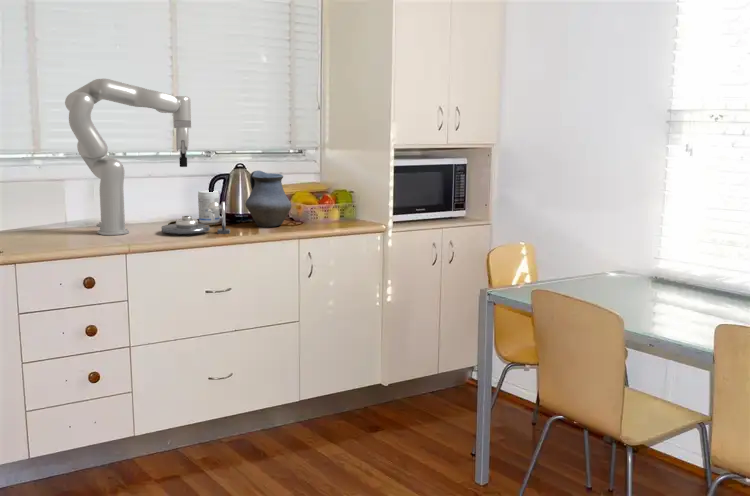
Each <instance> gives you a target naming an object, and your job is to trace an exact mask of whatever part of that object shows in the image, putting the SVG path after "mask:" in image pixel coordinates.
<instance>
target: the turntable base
mask: <svg viewBox="0 0 750 496" xmlns="http://www.w3.org/2000/svg"><path fill="white" fill-rule="evenodd" d="M197 234H198V233H193V234H176V235H177V236H188V235H189V236H191V235H197Z"/></svg>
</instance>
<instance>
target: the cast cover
mask: <svg viewBox="0 0 750 496" xmlns="http://www.w3.org/2000/svg"><path fill="white" fill-rule="evenodd" d="M175 224H176V228H182V229H189V228H197V227H198V224H199V219H197V218H193V217H192V215H182V217H181V218H178V219H176V220H175Z"/></svg>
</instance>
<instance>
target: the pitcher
mask: <svg viewBox="0 0 750 496" xmlns="http://www.w3.org/2000/svg"><path fill="white" fill-rule="evenodd" d="M283 178H284V175H283V174H282V173H269V172H265V171H262V170H254V171H252V172H251V174H250V178H249V181H250V182H249V183H250V187H251V192H250V194H249V196H248V198H247V199H246V201H245V203H244V205H245V208H246V209H247V210H248V212H249V214H250V215H251V217H252V220H254V222H255V224H256V226H257V227H261V228H274V227H279V226H282V224H284V221H285V220H286V218H287V216H288V215H289V213H290V211H291V209H292V203H291V201H290V199H289V197H288V196H287V194H286V193H285V190H284V187H283V184H282V180H283Z"/></svg>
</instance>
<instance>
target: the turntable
mask: <svg viewBox="0 0 750 496" xmlns="http://www.w3.org/2000/svg"><path fill="white" fill-rule="evenodd" d="M160 228H161V232H162V233H165V234H173V235H177V234H192V235H194V234H193V233H197V234H202V233H207V232H209V231H210V230H211V228H210V225H208V224H207V223H198V227H197V228H189V229H182V228H176V223H171V224H164V225H162V226H161V227H160Z"/></svg>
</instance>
